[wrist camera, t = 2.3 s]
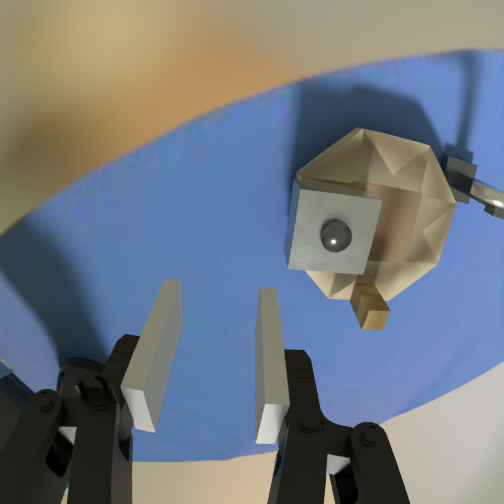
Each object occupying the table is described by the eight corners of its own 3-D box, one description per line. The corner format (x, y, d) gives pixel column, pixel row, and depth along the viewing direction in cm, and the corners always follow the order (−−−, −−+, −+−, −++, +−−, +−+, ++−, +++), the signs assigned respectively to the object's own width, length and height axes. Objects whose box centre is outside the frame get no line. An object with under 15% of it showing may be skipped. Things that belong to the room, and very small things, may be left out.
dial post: (398, 186, 30) (480, 243, 17) (406, 143, 28) (498, 177, 15) (463, 201, 31) (544, 254, 17) (472, 163, 29) (559, 204, 15)
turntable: (279, 287, 34) (285, 327, 28) (303, 118, 26) (319, 120, 20) (415, 294, 35) (440, 328, 28) (456, 154, 27) (495, 168, 20)
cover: (283, 248, 30) (288, 272, 25) (293, 178, 26) (301, 191, 22) (351, 254, 30) (365, 277, 26) (366, 188, 27) (384, 202, 23)
